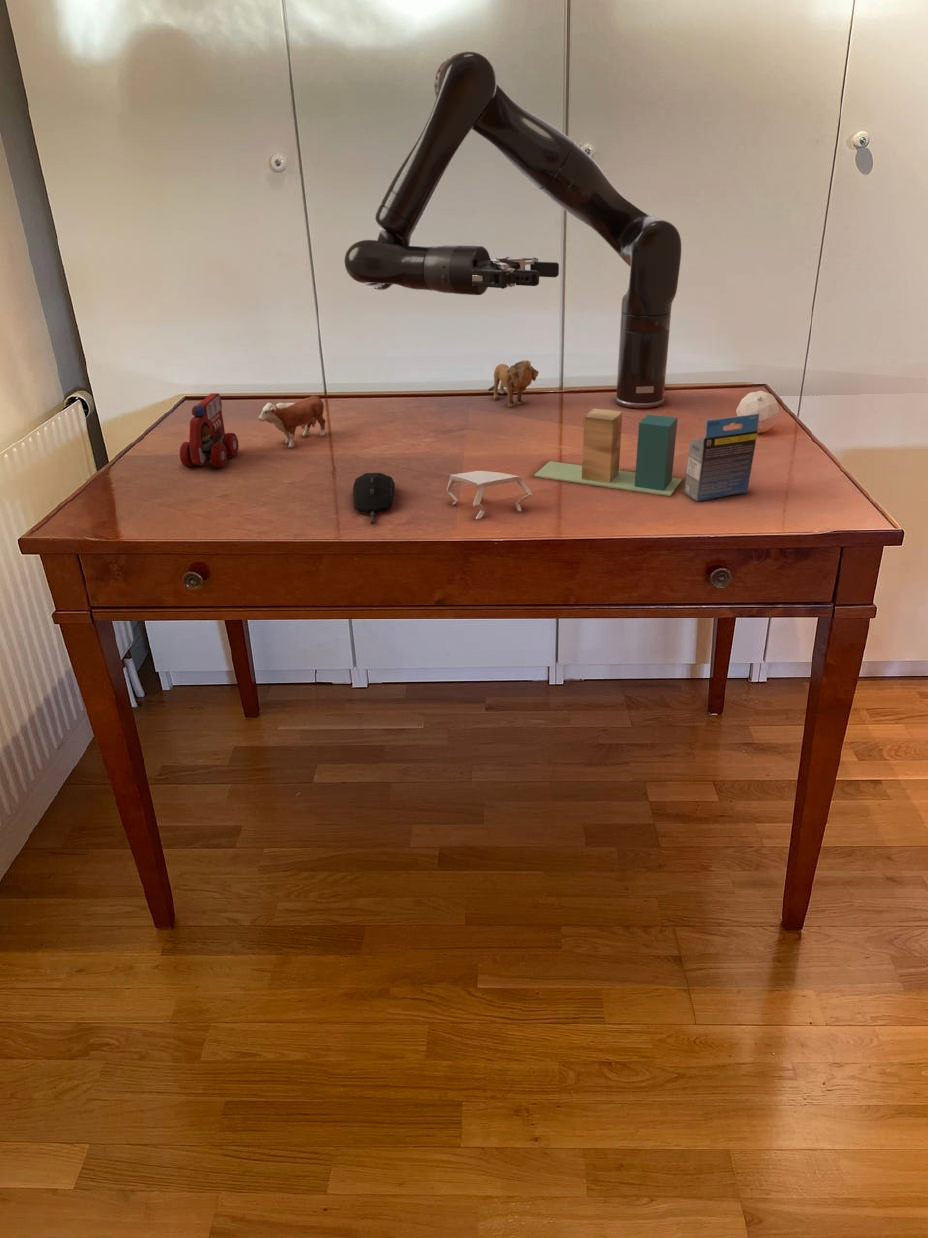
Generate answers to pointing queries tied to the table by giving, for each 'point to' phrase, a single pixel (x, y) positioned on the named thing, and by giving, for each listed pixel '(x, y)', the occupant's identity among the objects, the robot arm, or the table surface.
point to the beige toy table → (485, 485)
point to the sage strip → (621, 481)
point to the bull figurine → (295, 416)
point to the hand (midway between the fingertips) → (548, 273)
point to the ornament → (760, 409)
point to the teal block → (655, 452)
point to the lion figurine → (513, 380)
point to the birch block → (601, 445)
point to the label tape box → (721, 458)
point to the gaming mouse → (373, 493)
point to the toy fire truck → (208, 435)
